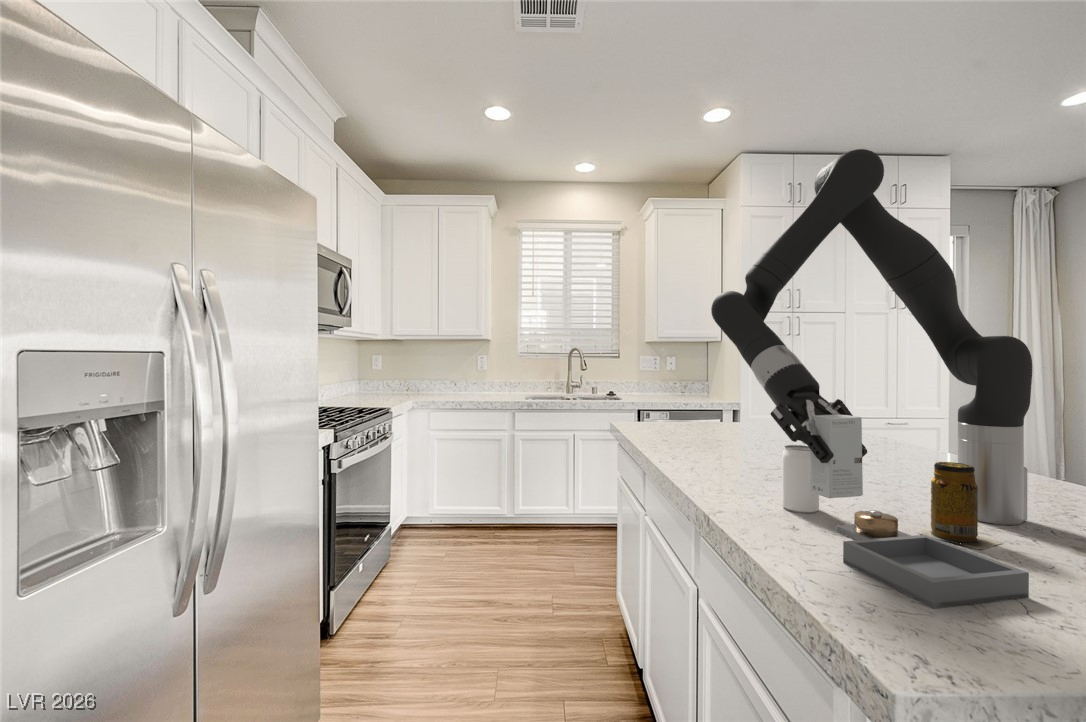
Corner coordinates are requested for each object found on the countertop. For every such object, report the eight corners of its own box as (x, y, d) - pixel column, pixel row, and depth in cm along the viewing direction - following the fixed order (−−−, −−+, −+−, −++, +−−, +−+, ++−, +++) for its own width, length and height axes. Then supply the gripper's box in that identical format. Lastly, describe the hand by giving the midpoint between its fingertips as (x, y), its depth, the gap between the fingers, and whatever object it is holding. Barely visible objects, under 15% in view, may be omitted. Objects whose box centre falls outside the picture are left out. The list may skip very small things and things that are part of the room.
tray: (925, 555, 78) (925, 534, 78) (1028, 597, 64) (1028, 572, 64) (843, 562, 75) (843, 541, 75) (933, 608, 62) (933, 582, 62)
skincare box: (830, 499, 78) (829, 418, 78) (808, 492, 83) (807, 415, 82) (865, 496, 80) (864, 416, 79) (842, 489, 84) (841, 413, 84)
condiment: (942, 528, 91) (943, 459, 91) (1003, 543, 83) (1003, 468, 83) (918, 534, 88) (918, 462, 87) (978, 551, 80) (978, 472, 80)
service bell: (876, 528, 90) (876, 503, 90) (918, 544, 83) (918, 517, 83) (836, 531, 89) (836, 506, 89) (874, 548, 81) (874, 520, 81)
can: (823, 514, 98) (823, 450, 98) (786, 512, 100) (786, 449, 100) (813, 505, 105) (813, 445, 105) (778, 503, 106) (778, 444, 106)
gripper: (762, 363, 85) (825, 447, 74) (827, 361, 90) (896, 439, 79) (739, 393, 90) (795, 476, 79) (802, 390, 95) (863, 467, 84)
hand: (845, 457), depth 79 cm, fingers closed on skincare box, 6 cm apart
